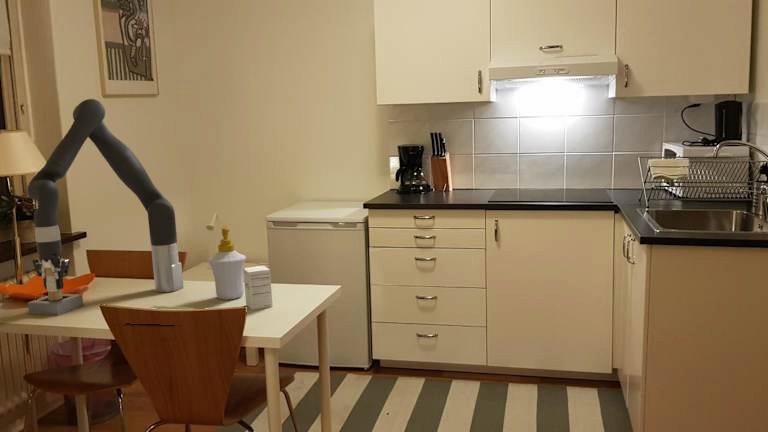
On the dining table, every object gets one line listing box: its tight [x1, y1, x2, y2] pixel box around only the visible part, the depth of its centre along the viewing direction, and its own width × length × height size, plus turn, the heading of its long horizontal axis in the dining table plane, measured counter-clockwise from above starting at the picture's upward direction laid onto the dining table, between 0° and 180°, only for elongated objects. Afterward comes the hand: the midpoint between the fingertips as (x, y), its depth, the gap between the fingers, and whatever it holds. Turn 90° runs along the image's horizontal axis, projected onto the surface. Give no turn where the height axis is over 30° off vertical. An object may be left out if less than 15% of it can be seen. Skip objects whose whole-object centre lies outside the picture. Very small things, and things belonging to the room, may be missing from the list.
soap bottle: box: [208, 225, 247, 301], centre depth 250 cm, size 13×13×25 cm
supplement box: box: [243, 265, 273, 311], centre depth 237 cm, size 7×7×13 cm
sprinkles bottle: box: [44, 262, 63, 301], centre depth 244 cm, size 5×5×14 cm
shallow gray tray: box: [27, 293, 84, 317], centre depth 252 cm, size 26×21×4 cm
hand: (54, 288), depth 245 cm, fingers closed on sprinkles bottle, 4 cm apart
